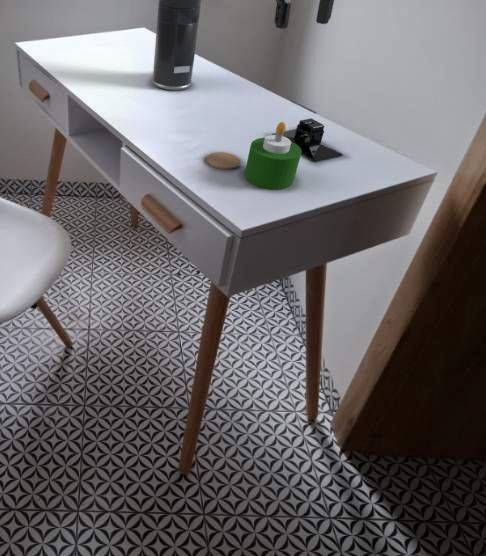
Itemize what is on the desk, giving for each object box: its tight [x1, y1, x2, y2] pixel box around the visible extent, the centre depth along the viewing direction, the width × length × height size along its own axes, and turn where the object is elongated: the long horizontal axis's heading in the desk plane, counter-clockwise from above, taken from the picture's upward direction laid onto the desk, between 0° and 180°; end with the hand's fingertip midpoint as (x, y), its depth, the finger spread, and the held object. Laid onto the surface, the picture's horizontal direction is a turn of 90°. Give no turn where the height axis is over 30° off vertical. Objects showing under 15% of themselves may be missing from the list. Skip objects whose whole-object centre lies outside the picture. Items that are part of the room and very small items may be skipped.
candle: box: [244, 121, 302, 191], centre depth 86 cm, size 8×8×10 cm
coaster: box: [206, 151, 241, 170], centre depth 93 cm, size 6×6×1 cm
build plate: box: [271, 117, 344, 163], centre depth 98 cm, size 12×7×5 cm, turn 27°
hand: (301, 25), depth 86 cm, fingers open, 8 cm apart
